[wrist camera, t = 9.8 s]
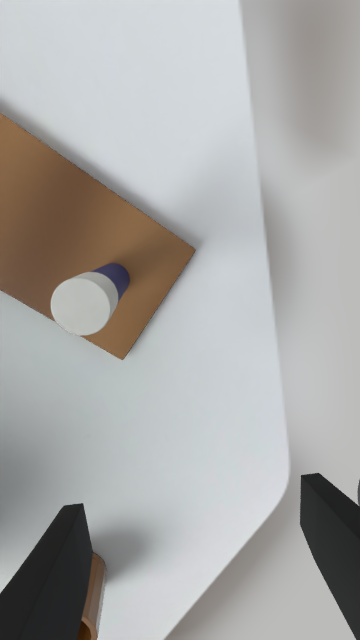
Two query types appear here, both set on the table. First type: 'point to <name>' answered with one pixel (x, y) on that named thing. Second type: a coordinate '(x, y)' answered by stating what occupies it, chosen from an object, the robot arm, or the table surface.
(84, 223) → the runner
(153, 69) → the table surface
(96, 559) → the cup
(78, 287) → the marker
